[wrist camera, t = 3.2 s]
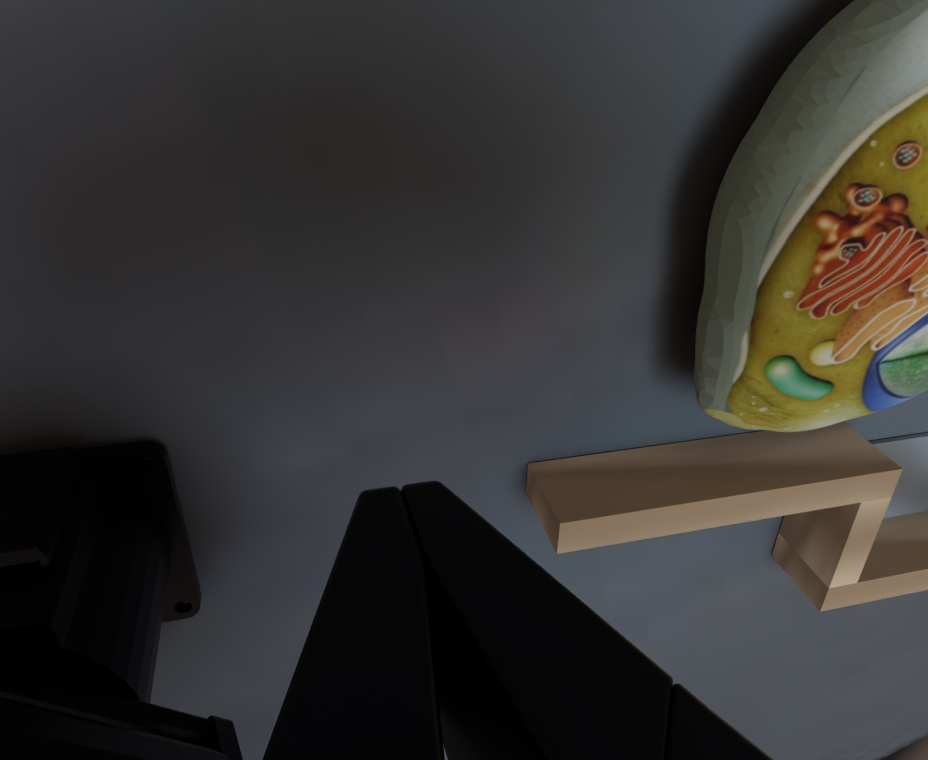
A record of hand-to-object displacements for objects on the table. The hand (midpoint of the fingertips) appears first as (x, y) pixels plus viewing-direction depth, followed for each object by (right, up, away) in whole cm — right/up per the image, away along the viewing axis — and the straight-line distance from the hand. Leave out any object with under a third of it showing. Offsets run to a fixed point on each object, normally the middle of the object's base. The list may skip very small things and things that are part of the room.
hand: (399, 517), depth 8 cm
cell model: (+13, +8, +14) cm, 20 cm away
